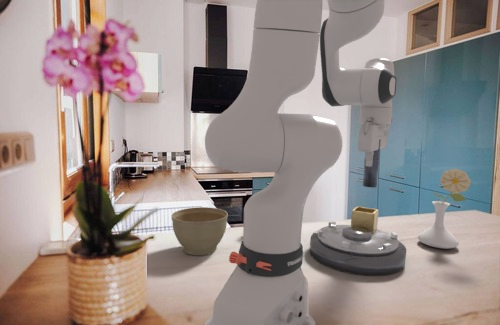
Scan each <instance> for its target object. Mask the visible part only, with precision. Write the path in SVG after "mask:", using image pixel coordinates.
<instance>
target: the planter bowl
mask: <svg viewBox="0 0 500 325" xmlns="http://www.w3.org/2000/svg"><path fill="white" fill-rule="evenodd" d="M228 217H229V214H228V212H227V211H226V210H224V209H221V208H217V207H208V206H207V207H204V206H203V207H201V206H200V207H199V206H198V207H189V208H184V209H183V208H182V209H179V210H177V211H175V212H172V214H171V221H172V228H173V232H174V236H175V238H176V240H177V242H178V243H179V244H180V245H181V247H182V248H183V251H184V253H185V254H188V255H190V256H204V255H205V256H207V255H210V254H212V253H215V252H216V251H217V249H218V245H219V244H220V243H221V241H222V239H223V237H224V235H225V233H226V230H227V224H228Z"/></svg>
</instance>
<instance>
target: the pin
mask: <svg viewBox="0 0 500 325" xmlns="http://www.w3.org/2000/svg"><path fill="white" fill-rule="evenodd" d="M380 143H381V139H380V140H379V148H378V150H376V151H374V154H373V166H371V167H369V166H366V159H365V158H364V162H363V163H364V164H363V176H362V186H363V187H365V188H378V178H379V176H378V175H379V166H380V154H381V152H380V151H381V149H380Z"/></svg>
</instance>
